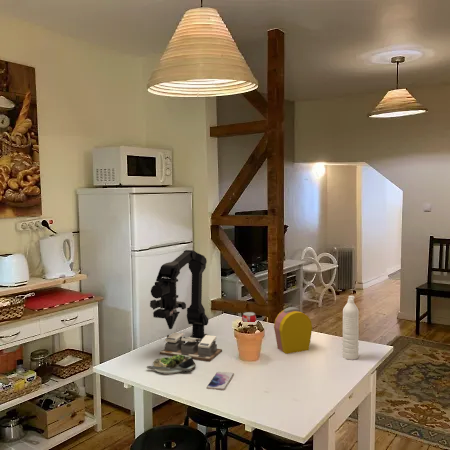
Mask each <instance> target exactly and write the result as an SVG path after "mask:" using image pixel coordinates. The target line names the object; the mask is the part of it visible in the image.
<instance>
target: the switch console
mask: <svg viewBox="0 0 450 450" xmlns="http://www.w3.org/2000/svg"><path fill="white" fill-rule="evenodd" d="M169 336H170V334H167V335H166V338H167V337H169ZM181 338H186V337H185V336H183V337H180V339H179V340H178V341H177V342H176V343H173V342H165V343H164V349H163V350H161V351H158V352H159V353H158V354H159V355H162V356H166V357H172V356H177V355H186V356H190V357H191V358H193V361H195V360H196V361H201V362H202V361H203V362H211V361H213V360H214V359H215V358H216V357H218V356H219V355H221V353H222V352H223V349H222V348H218V346H217V345H218V344H216V342H217V341H216V340H215V341H213V344H212V345H211V347H210V348H209V349H208V348H201V347H198V345H199V343H200V342H201V341H202V339H203V338H202V339H200V340H199V339H196V341H194V342H190V341H182V340H181Z"/></svg>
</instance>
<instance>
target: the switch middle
mask: <svg viewBox="0 0 450 450" xmlns="http://www.w3.org/2000/svg"><path fill="white" fill-rule="evenodd" d="M196 339H199V338H191V337H190V336H189V337H185V338H183V337H182V338H181V340H182V341H185V342H188V341H190V342H194V341H195V342H196ZM199 340H200V339H199Z"/></svg>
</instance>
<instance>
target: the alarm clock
mask: <svg viewBox="0 0 450 450" xmlns="http://www.w3.org/2000/svg"><path fill="white" fill-rule="evenodd" d="M273 330H274V334H275V339H276V340H275V341H276V346H277V349H278V350H279V351H281V352H282V353H283V354H285V355H288V354H294V353H300V352H307V351H310V345H311V339H312V331H313V324H312V320H311V319H310V317H309V316H308V315H307V314H305V313H304V312H301V310H300V309H299V308H297V307H295V306H289V307H287V308H285V309H283V310H281V311H280V312H279V313H278V314H277V316H276V317H275V319H274V324H273Z"/></svg>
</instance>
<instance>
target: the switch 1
mask: <svg viewBox="0 0 450 450" xmlns="http://www.w3.org/2000/svg"><path fill="white" fill-rule="evenodd" d="M180 337H182V338H183V337H185V334H184V333H182V332H181V333H180V332H172V333H171V334H169V337H167V336H166V338H165V339H164V342H165V343H167V342H173V343H176V342H177V341H178V340H180Z"/></svg>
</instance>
